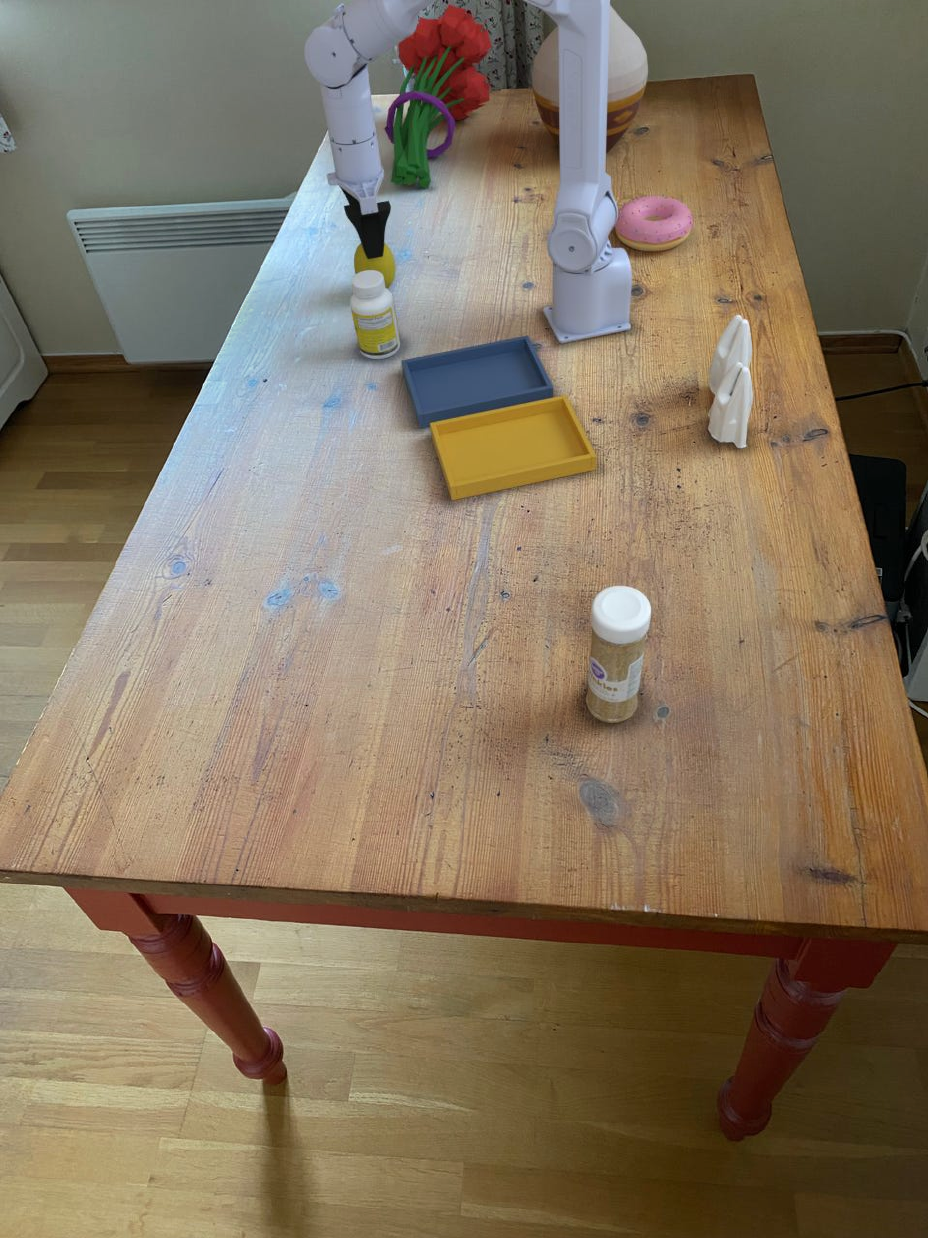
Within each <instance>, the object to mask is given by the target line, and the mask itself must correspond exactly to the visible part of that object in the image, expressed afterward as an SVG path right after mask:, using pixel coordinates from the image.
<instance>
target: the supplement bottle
mask: <svg viewBox="0 0 928 1238" xmlns="http://www.w3.org/2000/svg"><path fill="white" fill-rule="evenodd" d="M350 283H351V288H352V290H351V291H352V293H353V294H352V295H351V297H350V299H349V306H350V312H351V317H352V321H353V325H354V326H353V327H354V331H355V335H356V340H357V344H358V349H359V352H360V353H361V354H362V356H364V357H365V358H368V359H370V360H371V359H372V360H382V359H383V360H384V359H388V358H390V357H392V356H393V355H395V354H396V353H397V352H398V351H399V350H400V347H401V336H400V331H399V323H398V319H397V313H396V307H395V306H396V305H395V300H394V296H393V294H392V292H391V291H390V289H389V288H388V289H387V288H385V282H384V277H383V274H382V273H380V272H379V271H375V270H366V271H362V272H359V273H357V274H354V275H353V276H352V277H351V279H350Z"/></svg>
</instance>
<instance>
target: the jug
mask: <svg viewBox="0 0 928 1238" xmlns="http://www.w3.org/2000/svg"><path fill="white" fill-rule="evenodd" d="M647 55H648V53H647V51H646V49H645V47H644V45H643V43H642V40H641V39H640V37H639V36H638V35H637V33H635V31H634V30H633V29H632V28H631V27H630V26H629V25H628V24H627V23H626V22H625V21H624V20H623V19H622V18H621V16H620V15H619V14H618V12H617V11H616V10H615V9H614V7H613V6H612V5H611V4H610V18H609V56H608V93H607V130H606V154H607V153H609V152H610V151H611V150H612V149H613V148H614V147H615V145H616V144H617V143H618V142H619V141H620V140H621V138H622V137H623V136H624V135H625V133H626V132H627V131H628V129H629V128H630V127H631V125H632V124H633V122H634V121H635V118H636V116H637V114H638V111H639V109H640V107H641V104H642V100H643V98H644V93H645V91H646V90H645V89H646V88H647V87H646V86H647V82H648V74H649V65H648V56H647ZM531 80H532V82H531V83H532V92H533V96H534V100H535V104H536V108H537V111H538V114H539V116H540V119H541V122H542V124H543V126H544V127H545V129H546V131H548V133H549V135H550V136H551V137H552V139H553V140H554V142H556V144H557V145H558V146H559V147H560V140H559V54H558V25H556V27H554V29H553V30H552V31H551V32H550V33H549V34H548V36H547V37H546V38H545V39H544V40H543V42H542V43H541V45H540V47H539V49H538V51H537V53H536V55H535V57H534V60H533V66H532V73H531Z"/></svg>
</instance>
